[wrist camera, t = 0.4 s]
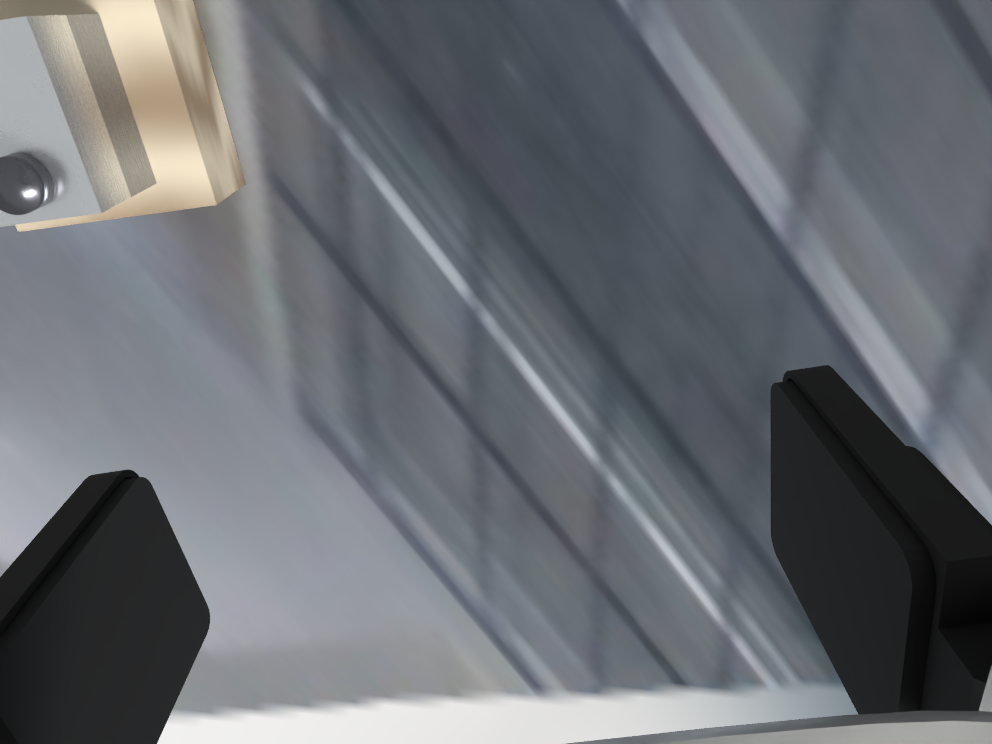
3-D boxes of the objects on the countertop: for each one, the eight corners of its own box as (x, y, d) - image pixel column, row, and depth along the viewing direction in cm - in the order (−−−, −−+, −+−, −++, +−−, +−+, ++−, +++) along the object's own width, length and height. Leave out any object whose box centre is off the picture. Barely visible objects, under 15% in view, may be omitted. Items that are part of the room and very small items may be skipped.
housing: (-12, 30, 35) (-127, 37, 28) (99, 14, 34) (8, 16, 28) (55, 197, 38) (-33, 236, 32) (156, 183, 38) (88, 220, 32)
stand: (-16, 4, 39) (-82, 4, 34) (185, -27, 38) (144, -31, 34) (66, 208, 44) (18, 231, 39) (245, 183, 43) (216, 205, 38)
